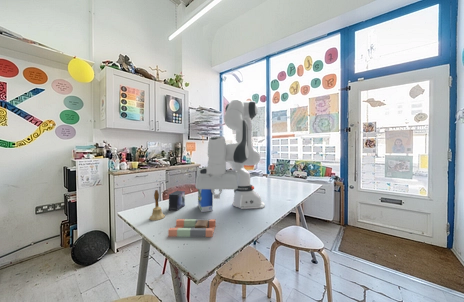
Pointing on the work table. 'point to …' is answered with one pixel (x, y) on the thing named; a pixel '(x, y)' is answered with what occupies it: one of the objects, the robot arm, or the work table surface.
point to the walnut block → (201, 224)
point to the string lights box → (205, 200)
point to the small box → (176, 200)
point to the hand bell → (156, 209)
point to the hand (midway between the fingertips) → (216, 198)
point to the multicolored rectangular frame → (192, 232)
